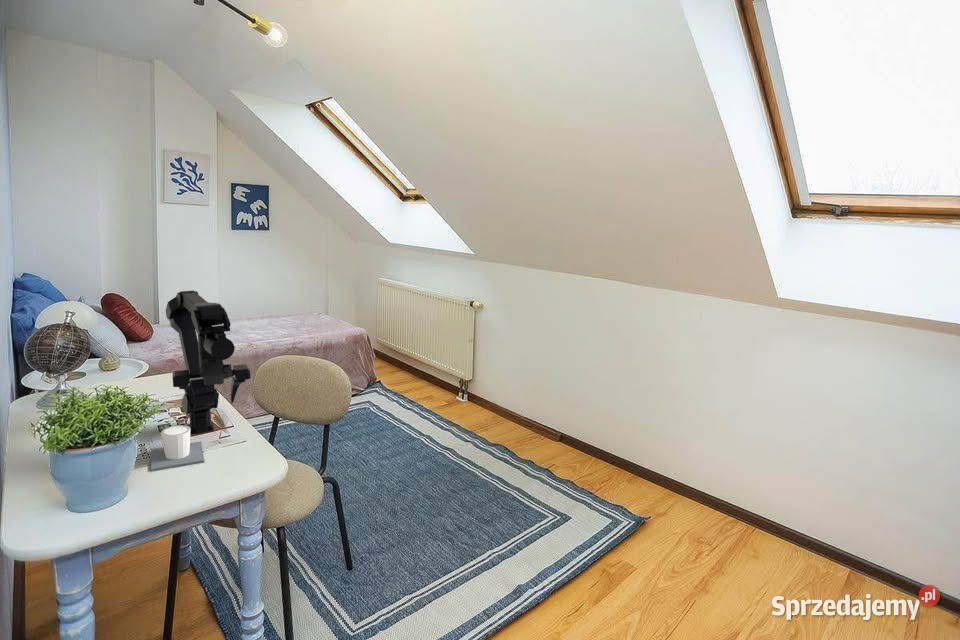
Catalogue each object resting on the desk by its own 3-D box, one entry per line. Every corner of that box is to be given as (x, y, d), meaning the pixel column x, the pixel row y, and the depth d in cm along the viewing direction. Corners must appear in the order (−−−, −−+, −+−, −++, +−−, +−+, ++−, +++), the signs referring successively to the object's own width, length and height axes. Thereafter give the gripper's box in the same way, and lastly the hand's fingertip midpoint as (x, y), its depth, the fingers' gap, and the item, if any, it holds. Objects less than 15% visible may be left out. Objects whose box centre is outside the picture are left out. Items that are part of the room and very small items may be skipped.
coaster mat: (151, 451, 146) (151, 448, 146) (201, 443, 152) (201, 441, 152) (150, 471, 136) (150, 469, 136) (204, 462, 142) (204, 460, 142)
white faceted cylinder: (179, 462, 140) (177, 437, 139) (156, 458, 142) (154, 433, 140) (198, 450, 147) (196, 426, 145) (175, 446, 148) (174, 423, 147)
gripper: (171, 362, 134) (175, 421, 138) (252, 355, 144) (254, 410, 147) (170, 350, 144) (174, 405, 147) (246, 344, 153) (248, 396, 156)
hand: (213, 404), depth 149 cm, fingers open, 9 cm apart
